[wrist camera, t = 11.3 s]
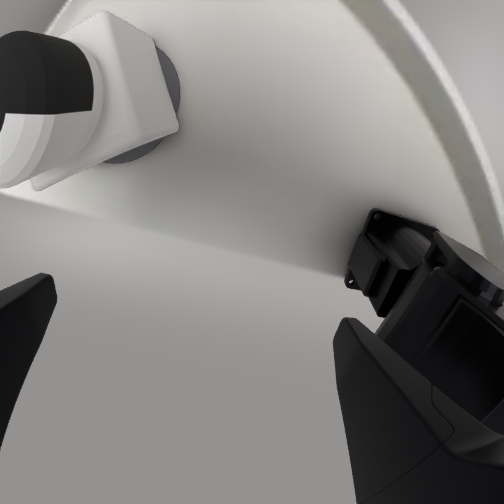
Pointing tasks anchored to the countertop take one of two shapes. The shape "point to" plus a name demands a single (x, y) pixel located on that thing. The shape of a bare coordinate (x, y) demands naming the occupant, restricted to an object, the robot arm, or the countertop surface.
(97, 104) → the medicine bottle
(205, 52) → the countertop surface
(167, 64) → the pad
